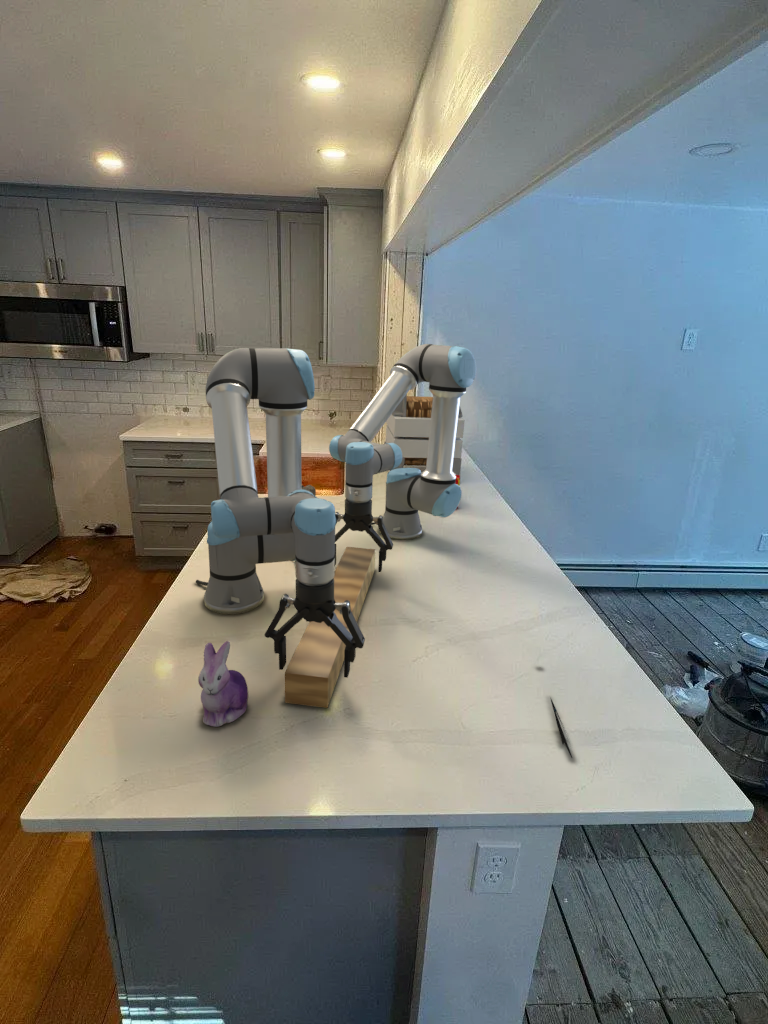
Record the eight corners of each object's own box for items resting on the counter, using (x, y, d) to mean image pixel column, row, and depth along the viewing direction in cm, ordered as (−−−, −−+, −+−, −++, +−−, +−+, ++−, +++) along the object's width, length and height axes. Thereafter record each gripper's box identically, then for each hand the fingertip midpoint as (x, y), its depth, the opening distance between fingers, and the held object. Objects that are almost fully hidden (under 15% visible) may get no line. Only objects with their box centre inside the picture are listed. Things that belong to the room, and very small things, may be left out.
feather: (540, 672, 128) (545, 666, 127) (572, 762, 101) (579, 755, 101) (533, 668, 128) (539, 662, 127) (564, 758, 101) (571, 750, 100)
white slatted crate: (382, 463, 289) (386, 382, 275) (445, 464, 293) (451, 384, 279) (390, 482, 257) (394, 392, 243) (460, 483, 261) (468, 394, 247)
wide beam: (346, 568, 172) (346, 546, 170) (374, 570, 171) (375, 549, 169) (284, 702, 113) (284, 672, 110) (327, 708, 112) (328, 677, 109)
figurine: (205, 736, 103) (200, 666, 98) (195, 702, 111) (189, 636, 106) (256, 721, 107) (254, 653, 102) (243, 690, 116) (239, 626, 111)
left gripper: (246, 580, 108) (250, 673, 115) (375, 593, 105) (371, 688, 113) (259, 563, 115) (262, 652, 122) (381, 575, 112) (376, 665, 120)
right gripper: (311, 499, 154) (311, 569, 162) (402, 506, 152) (398, 577, 159) (317, 491, 161) (317, 558, 169) (404, 497, 159) (401, 566, 166)
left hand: (314, 669), depth 117 cm, fingers open, 13 cm apart
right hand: (356, 568), depth 164 cm, fingers open, 13 cm apart
